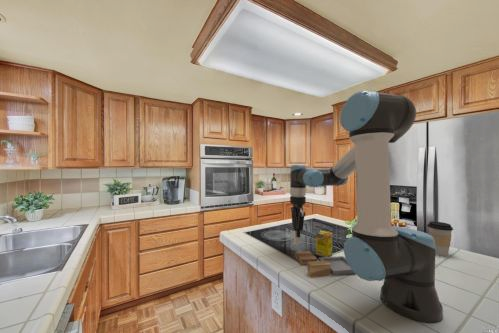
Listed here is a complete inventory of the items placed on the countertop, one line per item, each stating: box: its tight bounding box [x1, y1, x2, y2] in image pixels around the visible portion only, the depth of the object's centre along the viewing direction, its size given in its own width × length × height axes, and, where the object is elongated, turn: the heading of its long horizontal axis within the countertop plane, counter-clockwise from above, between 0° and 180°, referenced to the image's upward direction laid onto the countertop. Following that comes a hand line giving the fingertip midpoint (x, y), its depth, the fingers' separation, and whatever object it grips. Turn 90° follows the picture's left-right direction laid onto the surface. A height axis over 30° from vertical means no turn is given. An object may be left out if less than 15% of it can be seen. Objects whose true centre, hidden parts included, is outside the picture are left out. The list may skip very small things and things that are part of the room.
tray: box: [318, 255, 356, 277], centre depth 88 cm, size 12×12×2 cm
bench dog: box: [307, 260, 331, 278], centre depth 82 cm, size 3×8×4 cm, turn 99°
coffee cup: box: [427, 221, 454, 257], centre depth 103 cm, size 9×9×15 cm
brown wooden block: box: [294, 250, 318, 266], centre depth 94 cm, size 8×7×3 cm
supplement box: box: [315, 230, 333, 258], centre depth 100 cm, size 6×6×11 cm
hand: (297, 242), depth 104 cm, fingers closed
